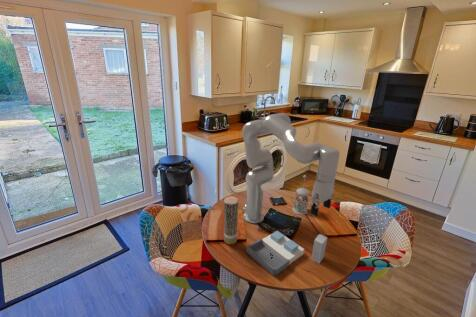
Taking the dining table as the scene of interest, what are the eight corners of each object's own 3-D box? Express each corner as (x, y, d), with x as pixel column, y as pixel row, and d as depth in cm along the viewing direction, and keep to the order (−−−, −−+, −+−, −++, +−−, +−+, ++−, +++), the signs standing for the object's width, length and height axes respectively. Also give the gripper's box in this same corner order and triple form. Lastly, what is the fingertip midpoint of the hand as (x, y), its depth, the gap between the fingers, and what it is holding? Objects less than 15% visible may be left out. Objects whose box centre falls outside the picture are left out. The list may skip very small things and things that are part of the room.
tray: (246, 252, 122) (246, 246, 121) (260, 243, 128) (260, 238, 127) (274, 276, 108) (274, 270, 107) (288, 266, 114) (289, 260, 113)
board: (261, 244, 128) (261, 239, 126) (276, 235, 135) (277, 230, 134) (288, 265, 115) (288, 260, 114) (303, 253, 122) (304, 249, 121)
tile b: (270, 238, 128) (270, 234, 127) (276, 234, 131) (277, 230, 130) (277, 243, 124) (277, 239, 123) (284, 239, 127) (284, 235, 126)
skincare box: (315, 252, 123) (319, 233, 118) (324, 256, 120) (328, 237, 116) (310, 259, 118) (314, 239, 114) (319, 264, 116) (323, 243, 111)
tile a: (283, 247, 121) (284, 243, 120) (290, 243, 124) (290, 239, 123) (291, 253, 118) (292, 249, 117) (297, 249, 121) (298, 245, 120)
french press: (309, 214, 154) (315, 179, 144) (291, 214, 154) (295, 178, 145) (306, 206, 163) (311, 172, 154) (288, 205, 163) (292, 171, 154)
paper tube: (239, 239, 131) (240, 198, 122) (232, 246, 125) (233, 205, 116) (228, 234, 134) (229, 195, 125) (221, 242, 128) (221, 201, 119)
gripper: (329, 168, 112) (323, 201, 118) (306, 178, 102) (301, 213, 108) (344, 174, 106) (338, 207, 113) (322, 185, 96) (316, 221, 102)
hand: (320, 210), depth 110 cm, fingers open, 9 cm apart
